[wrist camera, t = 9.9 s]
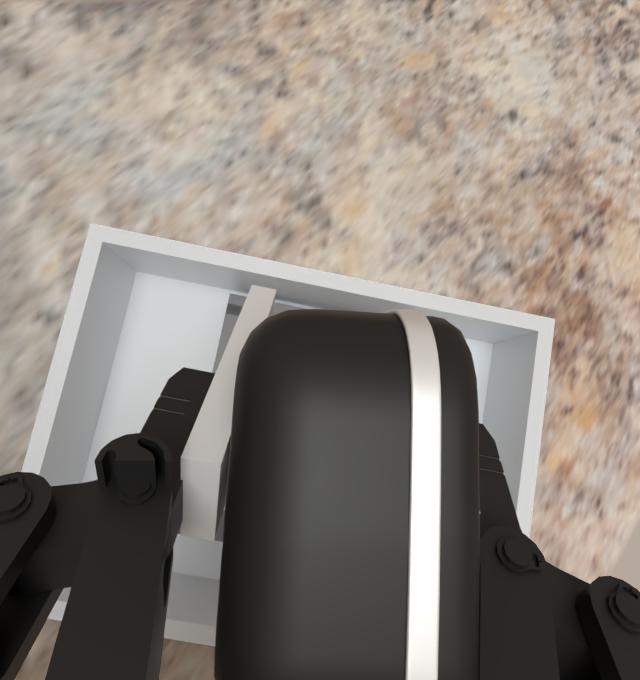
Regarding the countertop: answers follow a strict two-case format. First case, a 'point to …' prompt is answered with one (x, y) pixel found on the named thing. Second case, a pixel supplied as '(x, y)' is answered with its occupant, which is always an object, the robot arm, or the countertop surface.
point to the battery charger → (351, 502)
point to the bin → (206, 352)
